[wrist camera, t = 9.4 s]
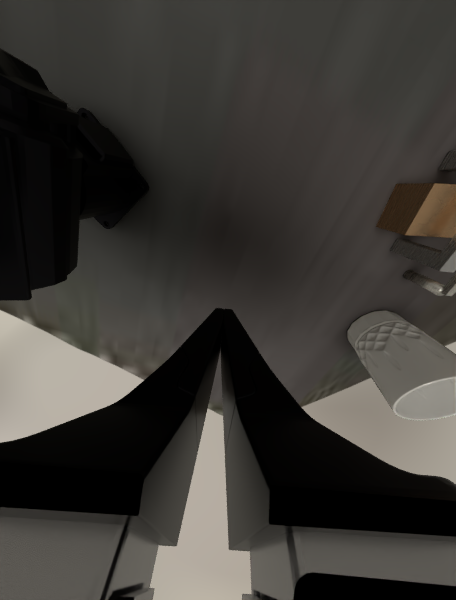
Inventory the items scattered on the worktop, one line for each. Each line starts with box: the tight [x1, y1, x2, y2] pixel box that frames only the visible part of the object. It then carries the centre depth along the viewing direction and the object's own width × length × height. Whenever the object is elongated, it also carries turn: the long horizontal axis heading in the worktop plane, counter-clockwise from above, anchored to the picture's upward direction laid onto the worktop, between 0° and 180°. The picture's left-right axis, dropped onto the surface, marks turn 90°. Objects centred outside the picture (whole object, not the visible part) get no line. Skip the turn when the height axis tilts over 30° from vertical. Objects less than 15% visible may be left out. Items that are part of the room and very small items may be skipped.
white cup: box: [347, 310, 456, 420], centre depth 21 cm, size 8×8×10 cm
